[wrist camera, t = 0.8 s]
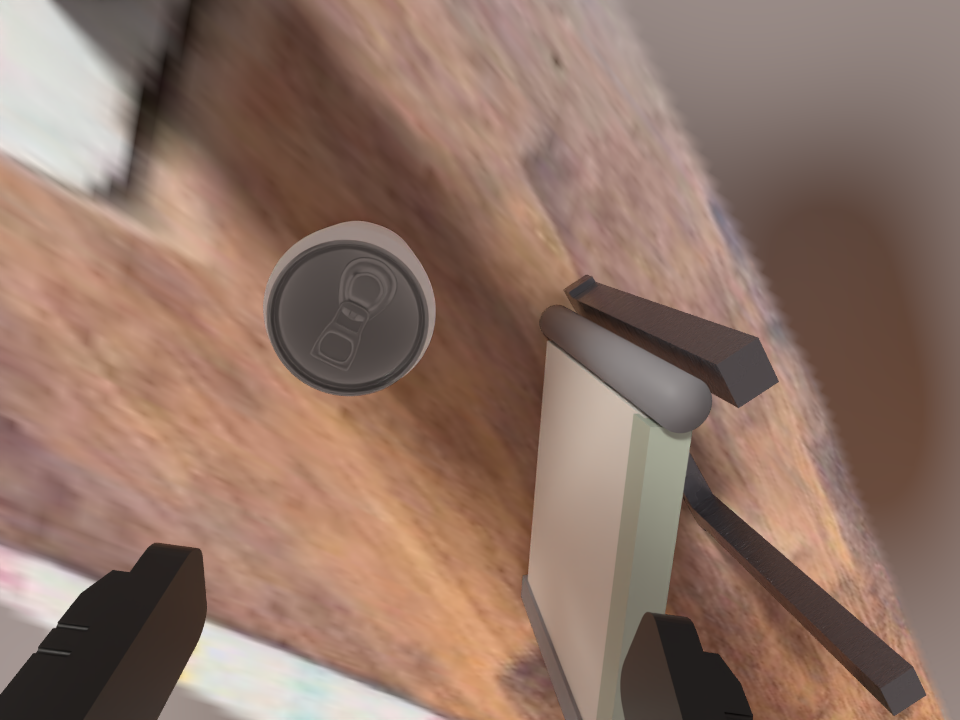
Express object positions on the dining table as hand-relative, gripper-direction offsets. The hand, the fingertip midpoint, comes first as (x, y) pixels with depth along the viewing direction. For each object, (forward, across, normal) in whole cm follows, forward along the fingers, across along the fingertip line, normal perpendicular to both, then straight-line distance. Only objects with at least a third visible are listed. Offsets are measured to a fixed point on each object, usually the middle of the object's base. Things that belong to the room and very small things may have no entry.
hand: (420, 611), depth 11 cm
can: (+23, +6, +3) cm, 24 cm away
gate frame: (+24, -13, +9) cm, 29 cm away
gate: (+22, -6, +12) cm, 26 cm away
